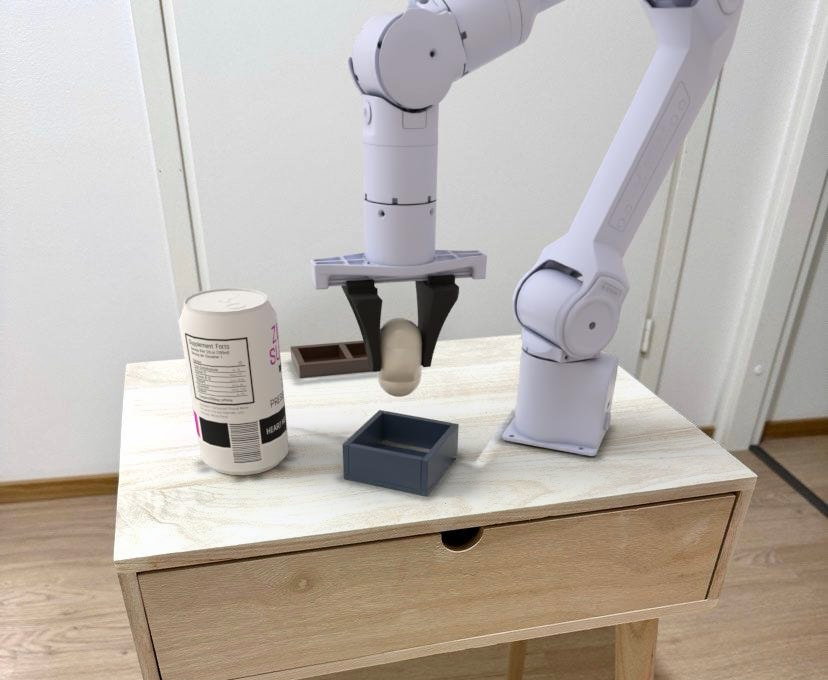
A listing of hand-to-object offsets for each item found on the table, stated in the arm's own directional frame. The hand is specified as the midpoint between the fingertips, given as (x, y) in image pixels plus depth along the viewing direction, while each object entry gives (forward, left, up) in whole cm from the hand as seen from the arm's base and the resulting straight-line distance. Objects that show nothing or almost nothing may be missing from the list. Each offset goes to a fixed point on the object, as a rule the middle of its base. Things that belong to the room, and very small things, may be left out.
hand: (399, 365), depth 67 cm
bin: (-1, +1, -9) cm, 10 cm away
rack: (+15, -20, -9) cm, 27 cm away
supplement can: (+14, +5, -10) cm, 18 cm away
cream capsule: (0, 0, -3) cm, 3 cm away
